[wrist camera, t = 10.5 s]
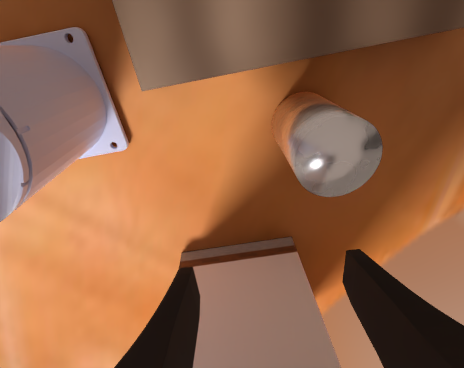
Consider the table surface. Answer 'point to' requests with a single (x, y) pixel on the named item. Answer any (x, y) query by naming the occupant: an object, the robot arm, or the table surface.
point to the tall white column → (257, 309)
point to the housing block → (264, 32)
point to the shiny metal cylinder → (326, 144)
